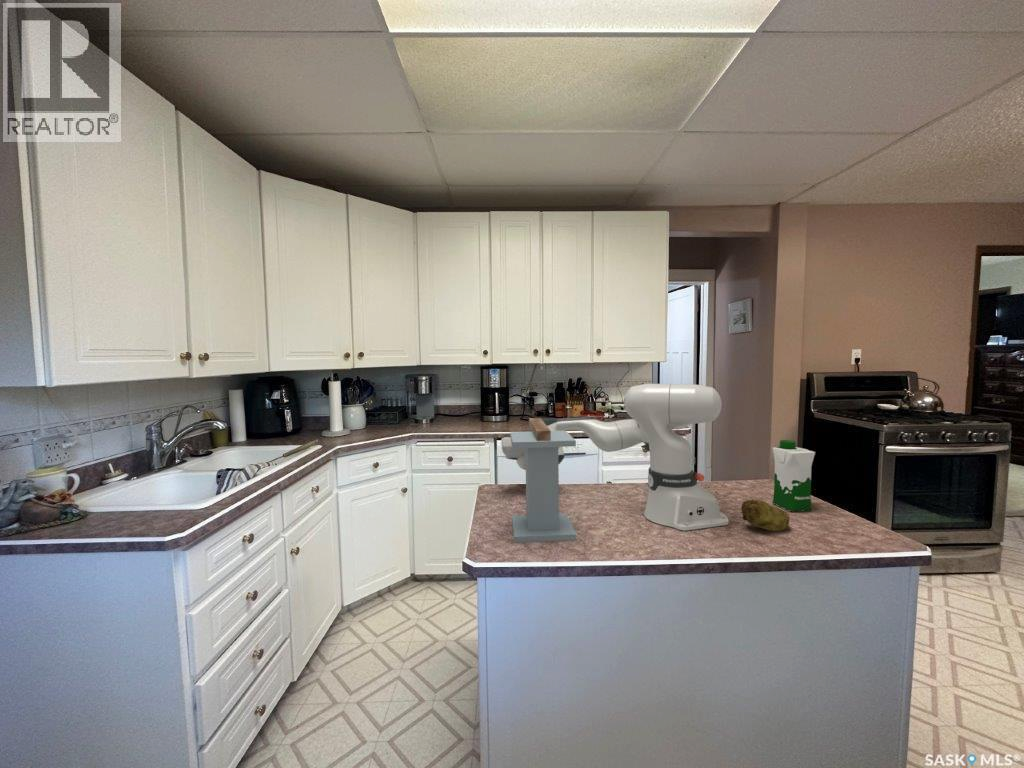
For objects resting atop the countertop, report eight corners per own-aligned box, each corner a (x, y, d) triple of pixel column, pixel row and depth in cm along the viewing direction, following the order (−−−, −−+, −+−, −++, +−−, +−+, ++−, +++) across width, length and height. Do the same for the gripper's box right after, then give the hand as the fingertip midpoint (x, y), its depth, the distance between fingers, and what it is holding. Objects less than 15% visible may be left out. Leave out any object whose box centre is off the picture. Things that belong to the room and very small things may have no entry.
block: (540, 425, 124) (540, 417, 124) (550, 440, 102) (550, 430, 102) (529, 426, 124) (529, 418, 124) (537, 440, 102) (536, 431, 102)
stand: (566, 518, 117) (565, 430, 116) (576, 540, 103) (575, 440, 102) (512, 520, 117) (510, 432, 115) (514, 542, 103) (512, 442, 101)
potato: (801, 537, 103) (801, 506, 102) (747, 534, 105) (747, 504, 104) (783, 523, 111) (784, 495, 111) (734, 521, 113) (734, 494, 112)
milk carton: (792, 501, 128) (793, 439, 127) (817, 511, 119) (819, 445, 118) (767, 503, 127) (769, 440, 125) (791, 514, 118) (793, 446, 116)
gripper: (559, 457, 142) (565, 445, 130) (501, 459, 141) (501, 447, 129) (557, 440, 145) (563, 426, 133) (500, 441, 144) (501, 428, 132)
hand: (532, 436), depth 131 cm, fingers open, 8 cm apart
